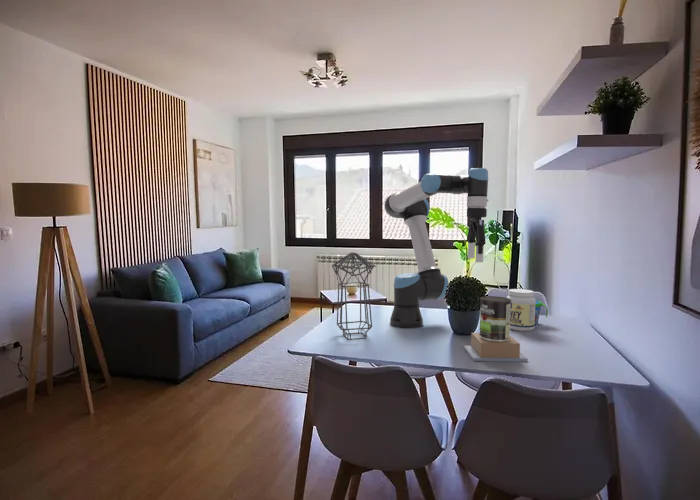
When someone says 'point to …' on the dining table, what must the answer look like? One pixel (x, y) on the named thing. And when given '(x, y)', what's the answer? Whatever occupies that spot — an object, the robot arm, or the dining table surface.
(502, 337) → the coffee can
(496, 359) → the tower base
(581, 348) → the dining table surface
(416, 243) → the robot arm
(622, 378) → the dining table surface
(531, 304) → the supplement tub
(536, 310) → the snack cup
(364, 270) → the geometric lantern
